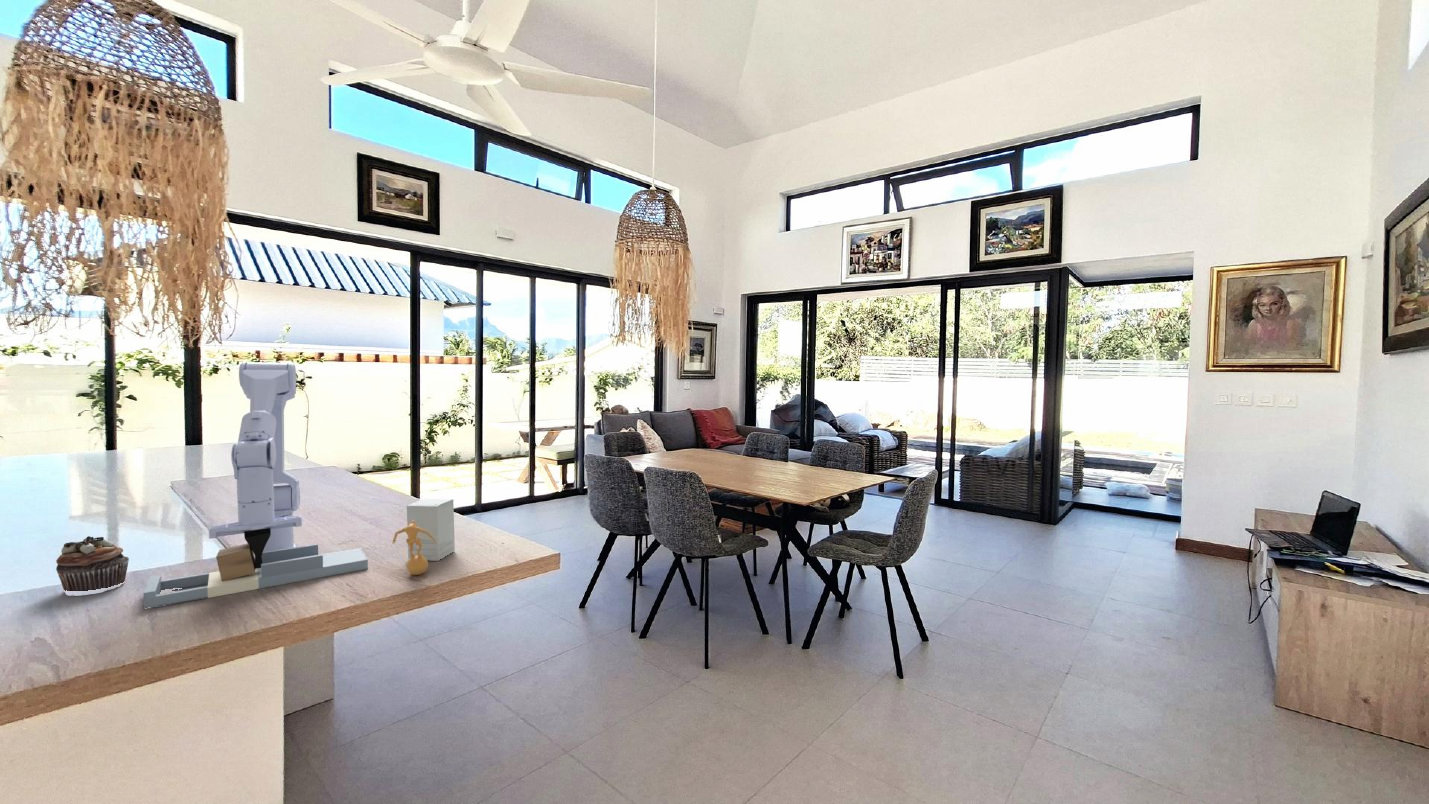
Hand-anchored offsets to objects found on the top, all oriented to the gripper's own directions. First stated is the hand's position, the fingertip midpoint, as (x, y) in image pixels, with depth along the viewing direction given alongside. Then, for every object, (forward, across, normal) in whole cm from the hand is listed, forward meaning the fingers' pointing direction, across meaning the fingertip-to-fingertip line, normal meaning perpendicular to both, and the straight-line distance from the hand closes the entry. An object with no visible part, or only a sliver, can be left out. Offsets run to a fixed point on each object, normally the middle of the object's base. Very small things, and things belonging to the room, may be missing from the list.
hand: (258, 567), depth 117 cm
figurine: (+3, +25, -16) cm, 30 cm away
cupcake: (+3, -25, +14) cm, 29 cm away
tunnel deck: (+3, +1, 0) cm, 3 cm away
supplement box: (+3, +31, -4) cm, 32 cm away
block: (+1, -3, 0) cm, 3 cm away
